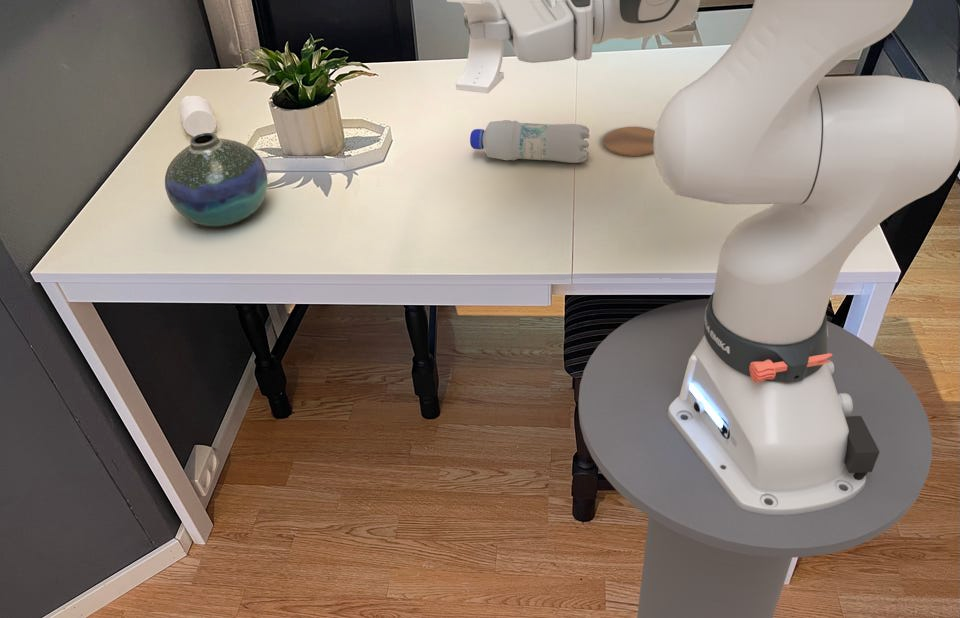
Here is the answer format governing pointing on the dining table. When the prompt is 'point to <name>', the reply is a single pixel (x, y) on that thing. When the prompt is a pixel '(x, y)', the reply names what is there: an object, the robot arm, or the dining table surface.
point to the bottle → (532, 141)
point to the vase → (216, 181)
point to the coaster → (630, 141)
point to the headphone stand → (482, 50)
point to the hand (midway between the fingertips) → (467, 26)
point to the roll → (196, 115)
